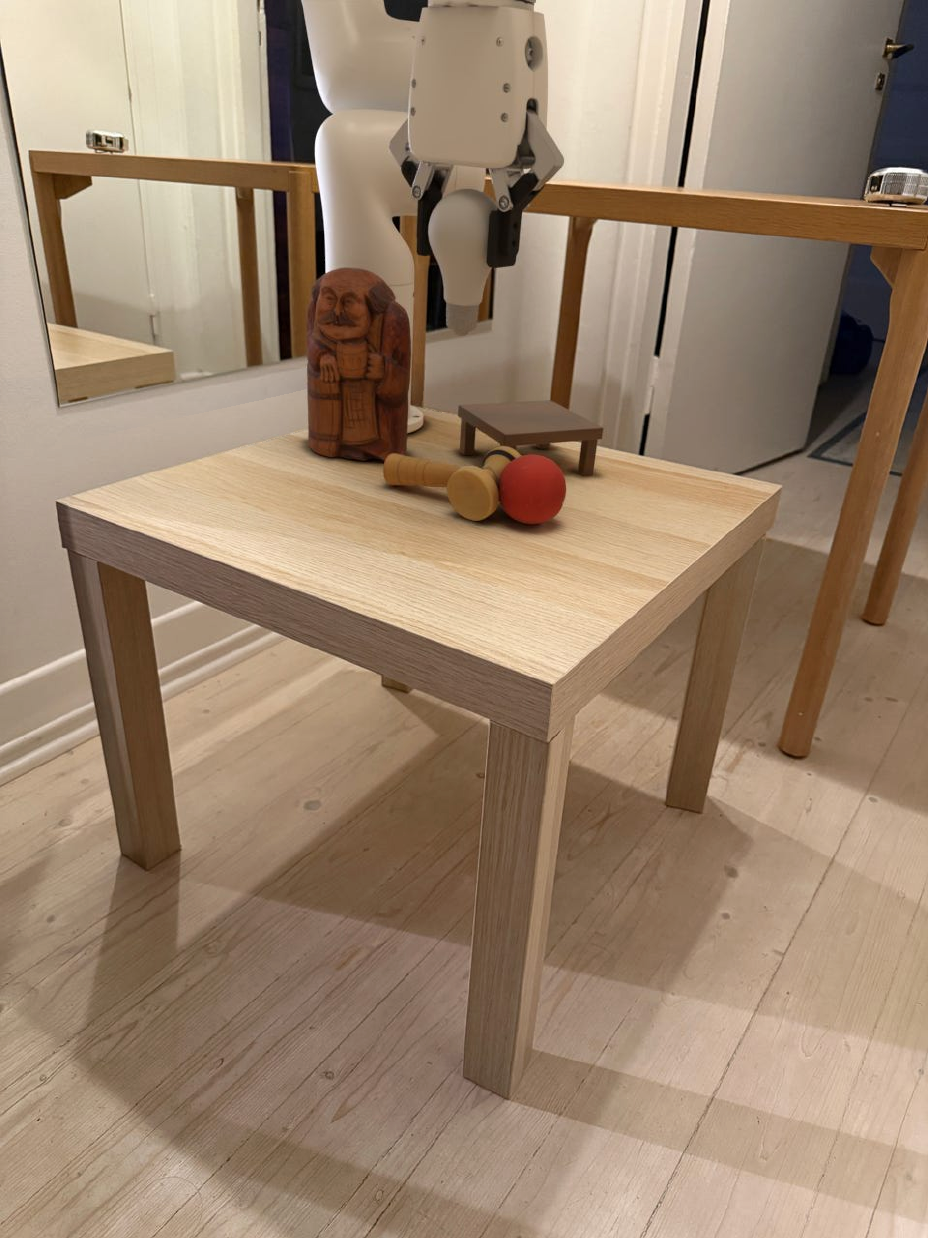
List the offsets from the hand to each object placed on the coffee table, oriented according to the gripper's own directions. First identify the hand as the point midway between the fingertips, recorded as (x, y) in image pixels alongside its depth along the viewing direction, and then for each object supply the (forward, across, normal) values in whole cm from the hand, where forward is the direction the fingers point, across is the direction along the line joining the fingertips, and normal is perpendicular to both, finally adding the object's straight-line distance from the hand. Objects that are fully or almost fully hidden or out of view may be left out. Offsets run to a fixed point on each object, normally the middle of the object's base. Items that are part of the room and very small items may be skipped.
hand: (465, 257), depth 72 cm
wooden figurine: (+22, +17, -6) cm, 28 cm away
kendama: (+21, -1, -2) cm, 21 cm away
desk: (+21, +2, -16) cm, 27 cm away
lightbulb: (+6, 0, 0) cm, 6 cm away
